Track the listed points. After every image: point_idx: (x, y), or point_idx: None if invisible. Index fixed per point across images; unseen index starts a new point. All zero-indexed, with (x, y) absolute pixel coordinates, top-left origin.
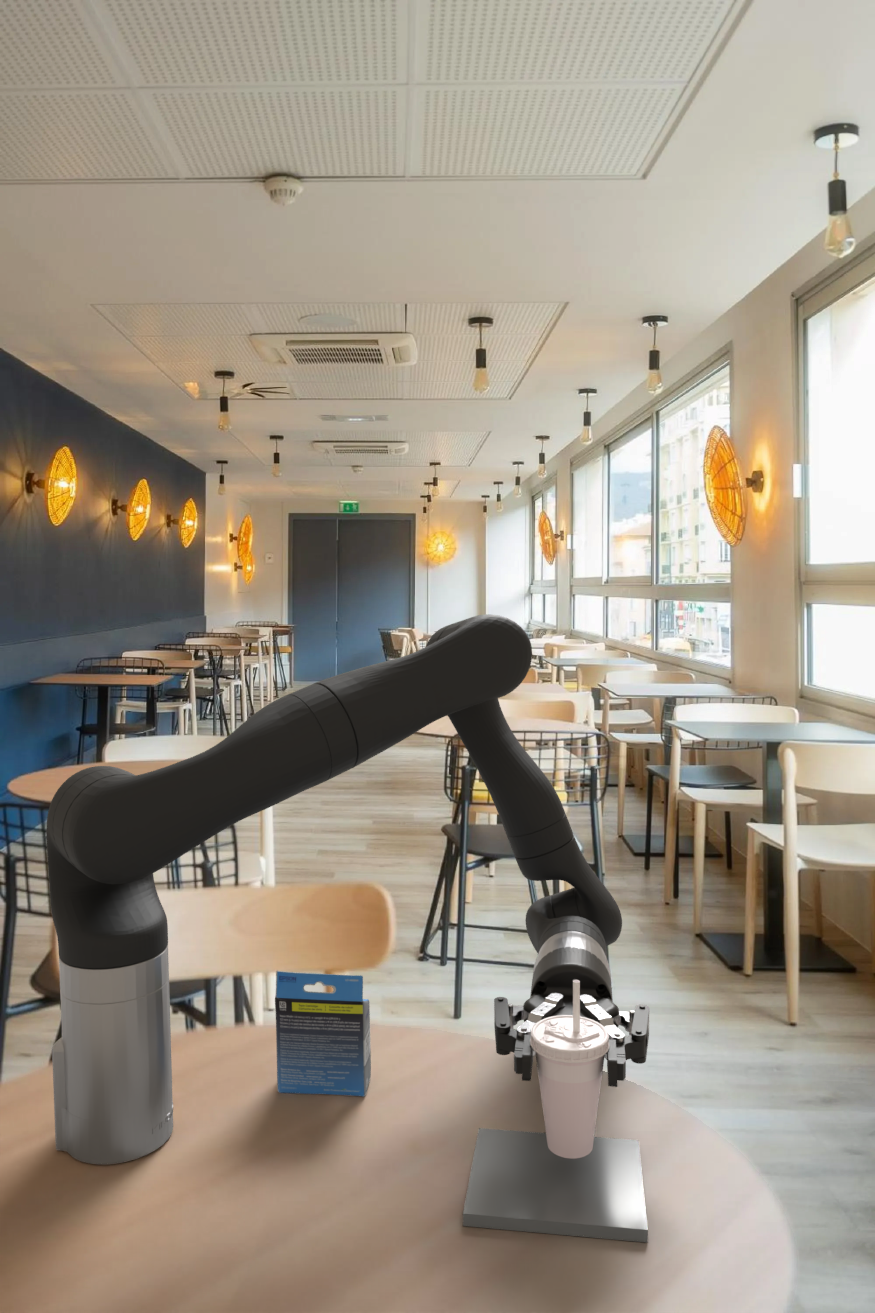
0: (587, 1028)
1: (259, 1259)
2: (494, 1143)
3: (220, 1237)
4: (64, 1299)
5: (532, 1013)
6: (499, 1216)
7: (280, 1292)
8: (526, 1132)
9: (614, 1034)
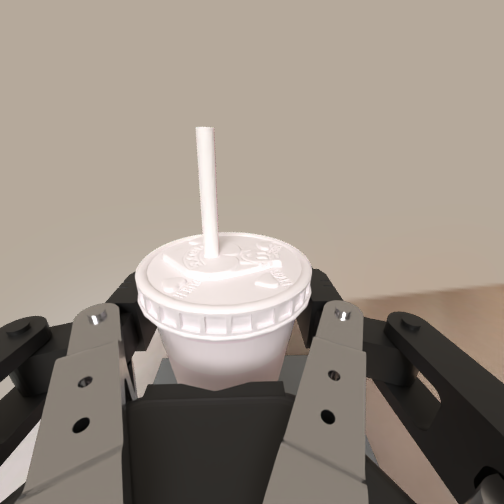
0: (184, 259)
1: (440, 316)
2: None
3: (489, 328)
4: (495, 286)
5: (354, 349)
6: (298, 355)
7: (401, 299)
8: None
9: (105, 312)
